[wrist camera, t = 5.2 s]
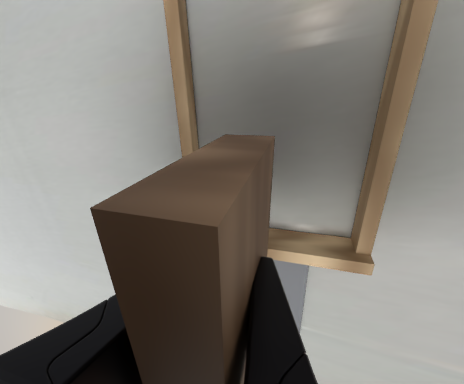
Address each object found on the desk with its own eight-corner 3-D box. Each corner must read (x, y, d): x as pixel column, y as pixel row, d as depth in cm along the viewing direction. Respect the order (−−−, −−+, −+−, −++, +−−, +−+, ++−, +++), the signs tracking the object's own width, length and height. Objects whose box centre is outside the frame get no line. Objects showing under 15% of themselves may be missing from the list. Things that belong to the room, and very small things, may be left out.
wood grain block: (274, 136, 8) (217, 227, 3) (264, 301, 11) (229, 494, 6) (225, 134, 8) (89, 208, 3) (229, 294, 11) (167, 465, 6)
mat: (310, 247, 20) (310, 249, 20) (299, 330, 24) (299, 333, 24) (234, 236, 22) (234, 238, 22) (237, 316, 26) (236, 318, 26)
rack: (523, -419, 8) (638, -683, 5) (361, 249, 19) (371, 275, 16) (146, -234, 12) (101, -329, 9) (196, 227, 23) (182, 245, 20)
